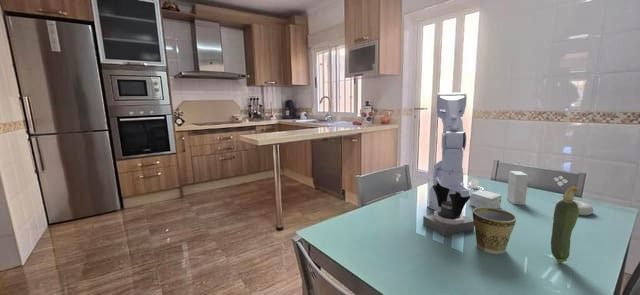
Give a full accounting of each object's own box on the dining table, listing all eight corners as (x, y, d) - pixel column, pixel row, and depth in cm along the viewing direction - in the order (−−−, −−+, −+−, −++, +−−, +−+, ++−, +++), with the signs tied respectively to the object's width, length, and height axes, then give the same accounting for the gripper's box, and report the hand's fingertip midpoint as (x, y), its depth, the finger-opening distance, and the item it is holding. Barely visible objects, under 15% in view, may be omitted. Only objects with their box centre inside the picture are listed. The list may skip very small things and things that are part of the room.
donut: (564, 205, 106) (549, 208, 102) (566, 196, 106) (550, 200, 102) (598, 214, 97) (583, 219, 93) (600, 205, 96) (584, 209, 93)
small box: (489, 212, 100) (490, 198, 99) (468, 205, 107) (469, 192, 106) (501, 207, 104) (502, 194, 103) (480, 201, 111) (481, 189, 110)
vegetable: (543, 256, 71) (553, 182, 68) (559, 255, 71) (569, 181, 68) (559, 266, 66) (570, 187, 63) (576, 265, 67) (588, 187, 64)
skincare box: (525, 205, 106) (529, 175, 104) (513, 204, 106) (516, 174, 105) (517, 199, 112) (520, 171, 110) (506, 199, 112) (509, 170, 110)
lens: (437, 217, 88) (438, 203, 87) (445, 214, 91) (446, 200, 90) (450, 222, 85) (451, 207, 84) (458, 219, 87) (459, 204, 86)
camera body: (423, 224, 90) (423, 212, 90) (451, 218, 94) (451, 207, 94) (444, 236, 82) (444, 223, 81) (473, 229, 86) (474, 217, 85)
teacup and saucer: (468, 184, 133) (468, 176, 133) (486, 188, 128) (487, 180, 127) (461, 189, 127) (462, 180, 127) (480, 192, 122) (481, 184, 121)
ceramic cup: (513, 262, 69) (517, 224, 67) (468, 251, 74) (471, 216, 72) (510, 240, 79) (514, 207, 78) (471, 232, 85) (474, 201, 83)
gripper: (479, 175, 78) (476, 219, 81) (449, 164, 93) (446, 202, 95) (457, 176, 77) (454, 221, 80) (429, 165, 92) (427, 203, 94)
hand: (448, 211), depth 87 cm, fingers open, 7 cm apart
